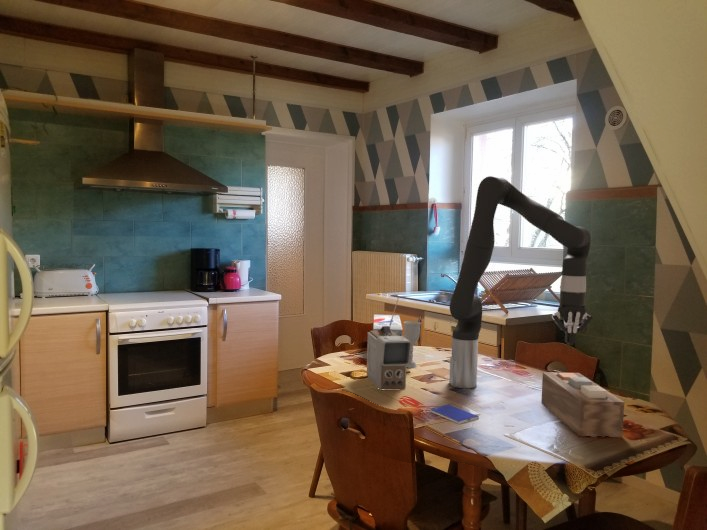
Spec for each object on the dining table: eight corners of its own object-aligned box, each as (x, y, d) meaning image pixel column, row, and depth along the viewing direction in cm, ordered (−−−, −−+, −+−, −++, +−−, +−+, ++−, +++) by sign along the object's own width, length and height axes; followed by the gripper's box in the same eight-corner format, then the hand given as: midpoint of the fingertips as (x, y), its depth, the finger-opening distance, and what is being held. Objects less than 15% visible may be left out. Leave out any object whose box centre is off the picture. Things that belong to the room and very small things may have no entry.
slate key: (574, 397, 167) (575, 381, 167) (568, 392, 172) (568, 376, 172) (591, 397, 167) (592, 381, 167) (584, 392, 172) (585, 377, 172)
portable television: (380, 393, 190) (383, 306, 188) (365, 374, 214) (367, 296, 211) (414, 392, 193) (417, 305, 191) (395, 373, 216) (397, 296, 214)
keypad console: (579, 436, 155) (581, 401, 154) (541, 402, 185) (542, 372, 184) (622, 437, 155) (624, 401, 155) (577, 402, 185) (579, 372, 185)
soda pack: (402, 361, 236) (403, 329, 235) (371, 360, 236) (372, 328, 235) (399, 341, 276) (399, 313, 275) (372, 340, 277) (373, 312, 276)
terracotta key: (562, 391, 176) (563, 376, 176) (556, 387, 181) (557, 372, 181) (578, 392, 176) (579, 377, 176) (572, 387, 181) (572, 372, 181)
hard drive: (430, 408, 173) (459, 420, 163) (449, 403, 178) (478, 415, 168) (430, 413, 173) (459, 425, 163) (449, 408, 178) (478, 420, 168)
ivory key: (587, 407, 158) (588, 390, 158) (580, 401, 163) (581, 385, 163) (605, 407, 158) (606, 390, 158) (597, 401, 163) (598, 385, 163)
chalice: (422, 366, 228) (424, 322, 227) (415, 369, 223) (416, 324, 221) (406, 363, 232) (408, 320, 231) (399, 366, 226) (400, 322, 225)
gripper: (556, 290, 172) (553, 346, 174) (599, 291, 173) (595, 347, 174) (547, 288, 180) (544, 341, 181) (588, 288, 180) (585, 342, 182)
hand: (570, 344), depth 178 cm, fingers closed
